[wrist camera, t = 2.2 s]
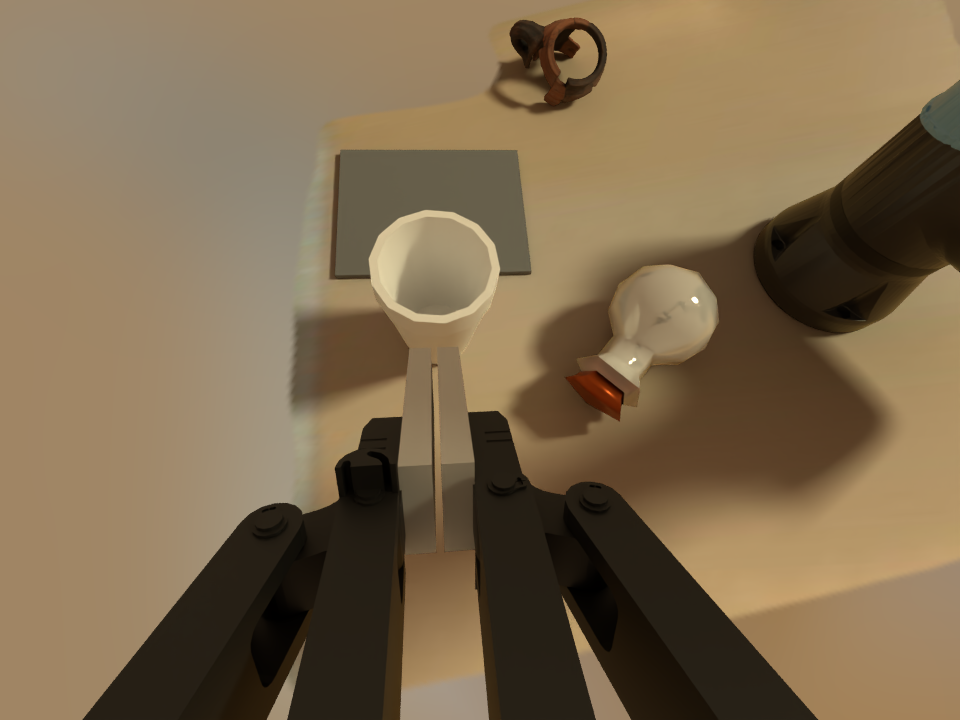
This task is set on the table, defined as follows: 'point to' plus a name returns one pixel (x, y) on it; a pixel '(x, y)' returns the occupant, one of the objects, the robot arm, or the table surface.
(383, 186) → the mat
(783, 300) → the robot arm
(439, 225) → the foam cup
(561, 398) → the table surface
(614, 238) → the table surface
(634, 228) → the table surface
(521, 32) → the brown curved ring piece
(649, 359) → the potion bottle
